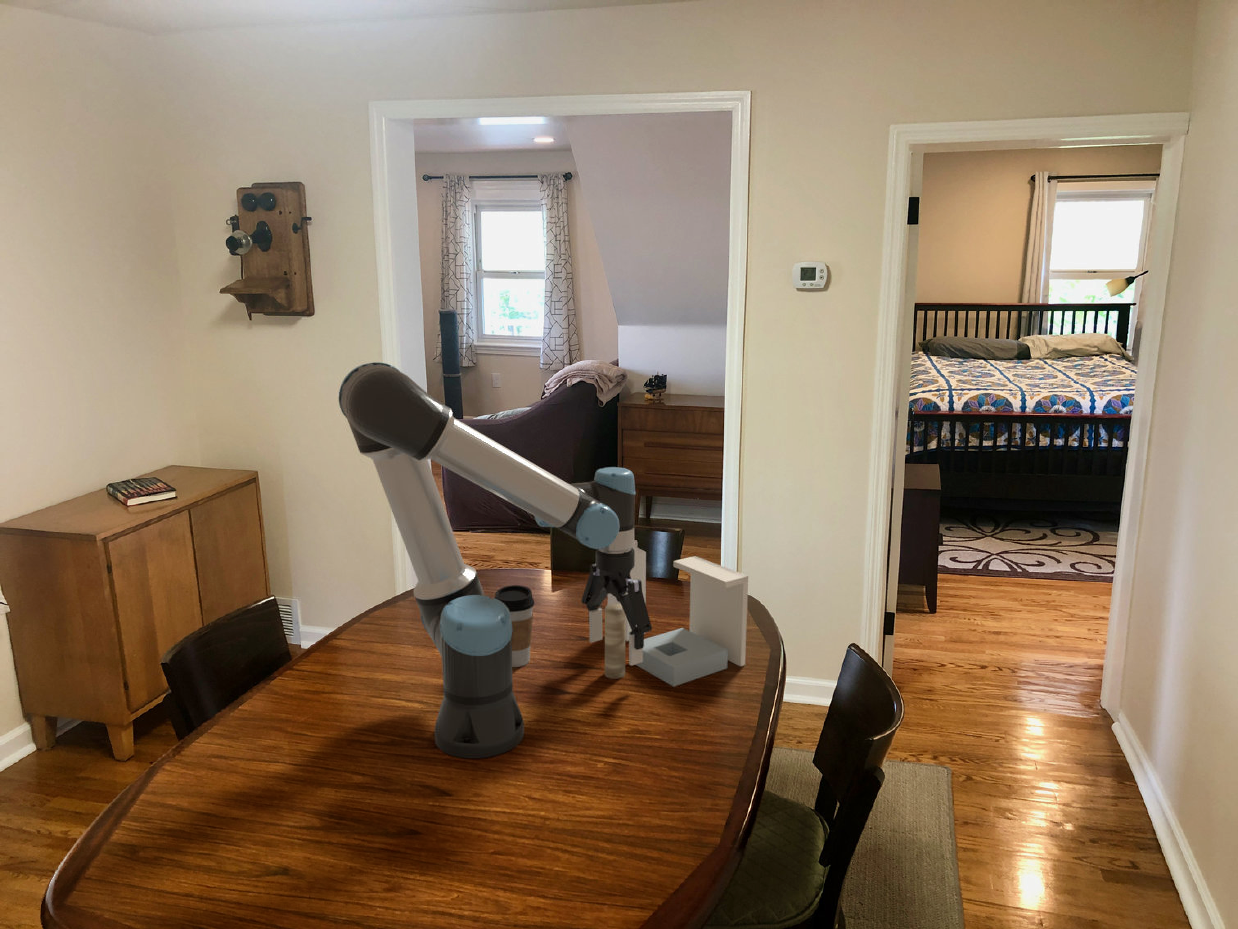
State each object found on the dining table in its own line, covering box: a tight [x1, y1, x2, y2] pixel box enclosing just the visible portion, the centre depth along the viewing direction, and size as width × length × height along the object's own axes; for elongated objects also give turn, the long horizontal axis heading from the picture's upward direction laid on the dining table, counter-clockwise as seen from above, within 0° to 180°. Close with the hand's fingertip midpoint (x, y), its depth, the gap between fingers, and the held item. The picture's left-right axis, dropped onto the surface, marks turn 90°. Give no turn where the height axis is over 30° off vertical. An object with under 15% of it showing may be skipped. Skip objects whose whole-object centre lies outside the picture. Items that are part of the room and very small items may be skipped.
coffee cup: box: [494, 584, 535, 668], centre depth 181 cm, size 8×8×15 cm
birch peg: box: [604, 604, 626, 680], centre depth 175 cm, size 4×4×14 cm
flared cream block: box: [673, 555, 749, 667], centre depth 184 cm, size 6×16×19 cm, turn 36°
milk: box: [607, 539, 647, 642], centre depth 194 cm, size 6×6×22 cm
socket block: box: [635, 627, 729, 687], centre depth 181 cm, size 14×14×4 cm
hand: (615, 651), depth 176 cm, fingers open, 13 cm apart
